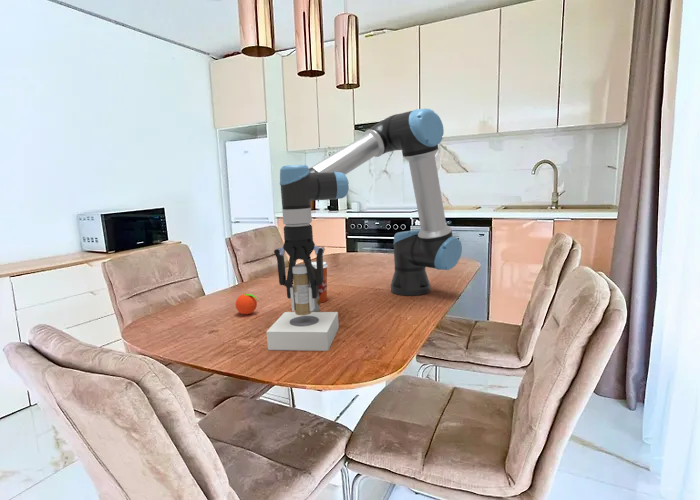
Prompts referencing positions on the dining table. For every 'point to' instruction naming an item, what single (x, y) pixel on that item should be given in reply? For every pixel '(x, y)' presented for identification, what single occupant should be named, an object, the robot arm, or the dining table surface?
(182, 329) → the dining table surface
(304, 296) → the sprinkles bottle
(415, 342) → the dining table surface
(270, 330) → the plinth
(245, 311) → the clementine
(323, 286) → the paper cup
